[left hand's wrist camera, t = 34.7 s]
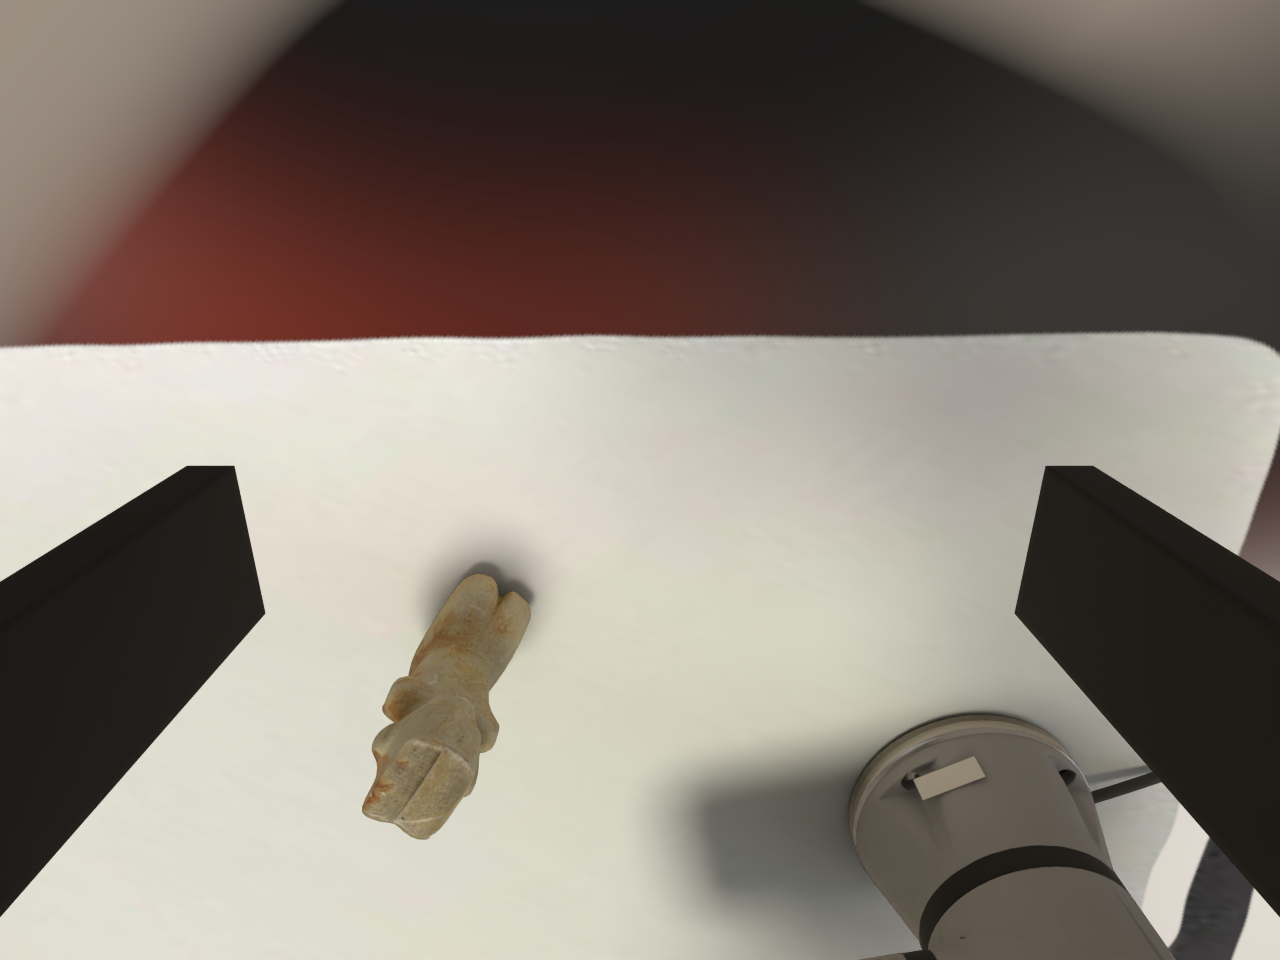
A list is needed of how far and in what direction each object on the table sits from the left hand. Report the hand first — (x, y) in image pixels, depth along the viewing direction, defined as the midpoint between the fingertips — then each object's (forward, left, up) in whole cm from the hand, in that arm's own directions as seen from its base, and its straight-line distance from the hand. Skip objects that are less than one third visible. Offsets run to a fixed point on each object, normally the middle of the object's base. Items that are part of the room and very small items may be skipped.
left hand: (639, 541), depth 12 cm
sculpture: (+10, +18, -28) cm, 35 cm away
